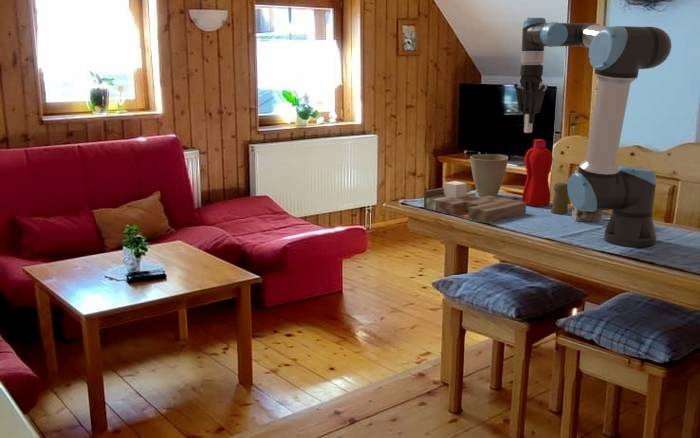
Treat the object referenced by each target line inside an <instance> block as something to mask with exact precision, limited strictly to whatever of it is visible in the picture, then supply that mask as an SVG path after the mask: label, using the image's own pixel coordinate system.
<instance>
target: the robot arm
mask: <svg viewBox="0 0 700 438" xmlns="http://www.w3.org/2000/svg"><path fill="white" fill-rule="evenodd" d="M521 33H522V37H521V42H522V43H521V52H520V53H521V57H520V63H521V65H520V79H519V81H518V83H515V84H513V88H514V89H515V93H516V100H517V101H516V102H517V106H518V107H517V108H518V111H519V112H521V113H522V117H523V118H522V122H523V123H524V124H523V125H524V126H523V133H526V134H529V133H531V134H532V133H533V124H534V123H535V118H536V114H537V113H540V112H541V109H542V106H543V102H544V98H545V95H546V92H547V90H548V88H549V85H547V84H545V83H543V78H542V77H543V73H544V65H543V63H544V58H545V47H548V48H551V47H552V48H555V47H583V48H586V49H587V48H588V49H589V50H588V59H589V65H591V67H592V68H593V69H594V76H595V77H596V78H597V79H598V84H597V88H596V95H595V102H594V107H593V112H592V119H591V125H590V131H589V136H588V143H587V147H586V155H585V159H584V160H582V162H580V163H579V164H578V171H577V172H574V173H572V174H571V175H570V176H569V177H568V179H567V183H566V184H567V189H568V191H567V196H568V198H569V201H570V203H571V204H572V206H573V205H574V207H575V208H577V209H578V210H580V211H590V212H594V211H601V210H603V211H612V213H611V216H610V217H609V218H610V219H609V220H608V222H607V225H606V227H605V230H604V233H603V234H604V235H603V239H604V240H605V241H606V242H607V243H610V244H613V245H617V246H618V245H619V246H624V247H633V248H634V247H635V248H642V247H643V248H644V247H651V246H655V245H656V244H657V243H656V242H657V234H656V228H655V225H654V221H653V213H654V205H655V203H654V202H655V195H656V187H657V175H656V172H655V171H653V170H652V169H648V168H644V167H638V166H632V165H624V164H623V165H621V164H620V165H617V158H618V153H619V148H620V142H621V137H622V132H623V131H622V130H623V126H624V121H625V115H626V108H627V105H628V100H629V93H630V88H631V84H632V82H633V81H635V80H637V79H638V76H639V72H640V70H648V69H652V68H653V69H654V68H656V67H658V66H660V65H661V64H663V63H664V62H665V61H666V60H668V58H669V56H670V53H671V50H672V40H671V38H670V35H669V34H668V33H667V32H666V31H665V30H663V29H662V28H659V27H655V26H623V25H616V26H607V25H600V24H599V23H593V22H587V23H586V22H585V23H583V22H581V23H580V22H579V23H576V22H575V23H574V22H557V21H554V22H547V20H546V17H526V18H525V19H524V20H523V24H522V32H521Z"/></svg>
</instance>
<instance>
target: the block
mask: <svg viewBox="0 0 700 438" xmlns="http://www.w3.org/2000/svg"><path fill="white" fill-rule="evenodd" d="M443 188H444V196H447V197H452V198H460V197H465V196H467V191H468V183H467V182H462V181H457V180H454V181H447V182H444V183H443Z"/></svg>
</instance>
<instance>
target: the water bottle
mask: <svg viewBox="0 0 700 438" xmlns="http://www.w3.org/2000/svg"><path fill="white" fill-rule="evenodd" d="M546 143H547V141H546V140H544V139H540V138H537V139H536V138H535V139H533V146H532V147H531V148H530V149H528V150H527V151H526V153H525V156H524V160H523V161H524V164H525V165H524V166H525V171H526V180H525V184H524V187H523V191H522V195H521V202H525V203H526V206H531V207H536V208H537V207H538V208H539V207H544V206H548V205H550V202H551V189H550V183H549V175H550V173H551V170H552V165H553V160H554V159H553V152H551V150H550V149H548V148H547V147H546Z"/></svg>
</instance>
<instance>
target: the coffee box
mask: <svg viewBox="0 0 700 438" xmlns="http://www.w3.org/2000/svg"><path fill="white" fill-rule="evenodd" d="M571 208H572V211H571V218H572V219H573V220H574V221H575V222H590V221H592V222H593V223H594V222H596V223H602V220H603V211H604V210H601V211H594V212H590V211H580V210H578V209H577V208H575V207H574V205H573V204H572V207H571ZM592 222H591V223H592Z"/></svg>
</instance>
